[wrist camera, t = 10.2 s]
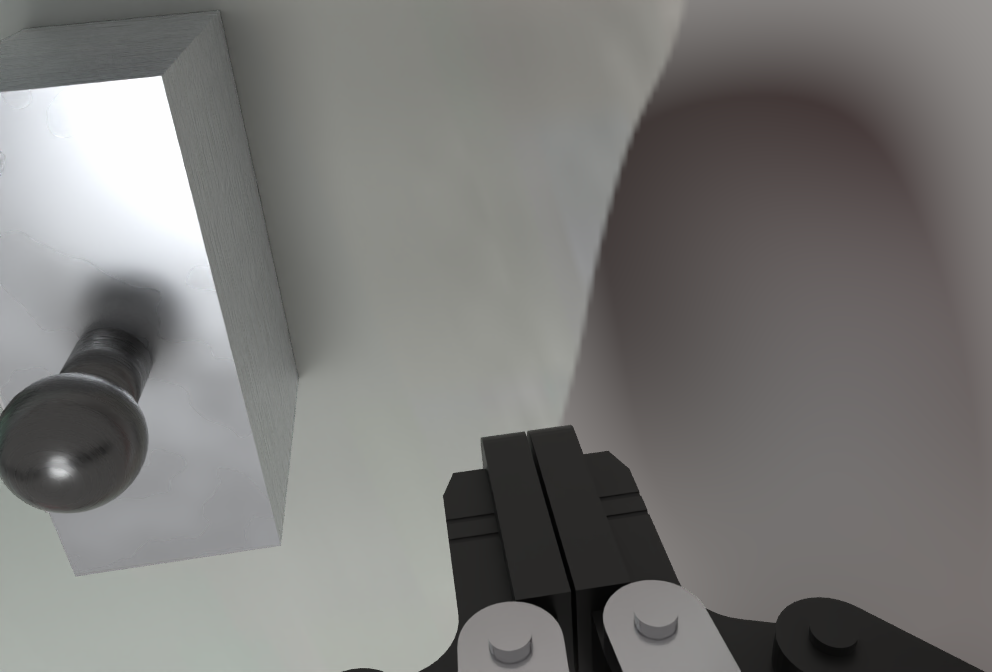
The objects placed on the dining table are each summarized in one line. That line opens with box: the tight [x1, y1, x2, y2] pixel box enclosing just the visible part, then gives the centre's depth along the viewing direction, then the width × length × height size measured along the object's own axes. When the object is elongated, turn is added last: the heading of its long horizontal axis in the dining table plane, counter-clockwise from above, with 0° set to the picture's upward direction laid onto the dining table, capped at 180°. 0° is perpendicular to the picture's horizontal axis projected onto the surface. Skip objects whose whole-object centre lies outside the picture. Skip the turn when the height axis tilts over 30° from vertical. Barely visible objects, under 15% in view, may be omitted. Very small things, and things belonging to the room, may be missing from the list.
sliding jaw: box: [0, 10, 299, 576], centre depth 20 cm, size 6×12×12 cm, turn 4°
